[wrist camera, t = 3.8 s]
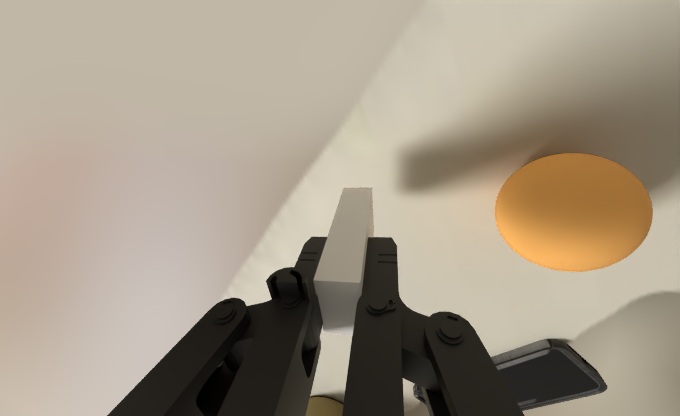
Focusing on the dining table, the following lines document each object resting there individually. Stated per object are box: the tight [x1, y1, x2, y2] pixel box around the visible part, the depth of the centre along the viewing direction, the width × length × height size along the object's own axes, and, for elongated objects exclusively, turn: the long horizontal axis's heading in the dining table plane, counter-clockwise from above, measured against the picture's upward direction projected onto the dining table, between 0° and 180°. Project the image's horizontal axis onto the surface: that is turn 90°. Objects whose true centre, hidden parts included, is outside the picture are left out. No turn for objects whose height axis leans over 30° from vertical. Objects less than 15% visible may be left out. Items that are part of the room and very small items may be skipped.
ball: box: [495, 153, 653, 272], centre depth 12 cm, size 6×6×6 cm
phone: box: [413, 339, 607, 411], centre depth 25 cm, size 8×1×15 cm
